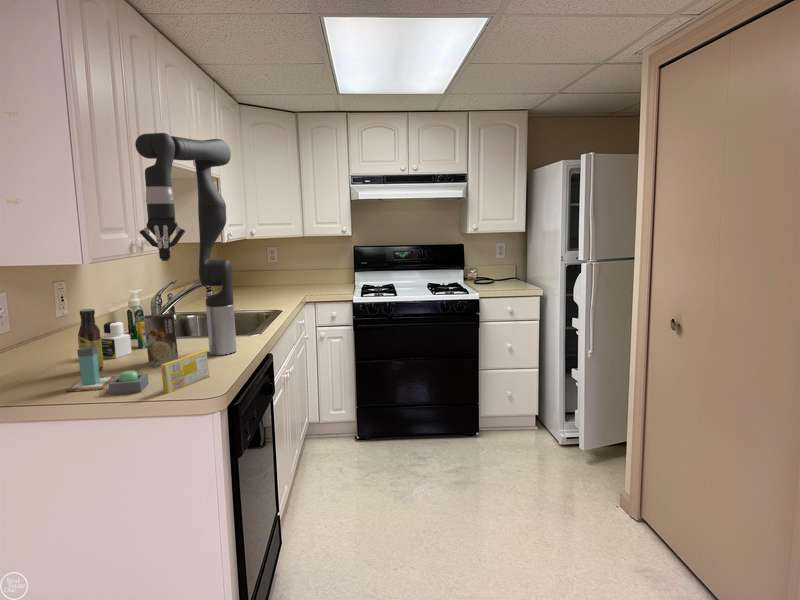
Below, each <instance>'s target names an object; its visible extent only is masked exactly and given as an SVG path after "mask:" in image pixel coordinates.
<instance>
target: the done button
mask: <svg viewBox="0 0 800 600" xmlns="http://www.w3.org/2000/svg"><path fill="white" fill-rule="evenodd" d="M138 374H139V373H138V371H137V370H128V371H127V370H126V371H123V372H122V371H121V372H120V373H118V376H119V380H120V382H127V381H137V380H138Z"/></svg>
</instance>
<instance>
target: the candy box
mask: <svg viewBox="0 0 800 600" xmlns="http://www.w3.org/2000/svg"><path fill="white" fill-rule="evenodd" d="M160 370H161V379H162V388H163V393H164V394H170V393H172V392H175V391H177V390H179V389H180V390H181V389H183V388H185V387H188V386H189V385H192V384H196V383H197V382H200V381H203V380H206V379H207V377H208V378H210V371H209V362H208V353H207V350H199V351H197V352H194V353H191V354H188V355H185V356H182V357H178V359H176V360H173V361H170V362H167V363H164V364H161V365H160Z"/></svg>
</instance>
